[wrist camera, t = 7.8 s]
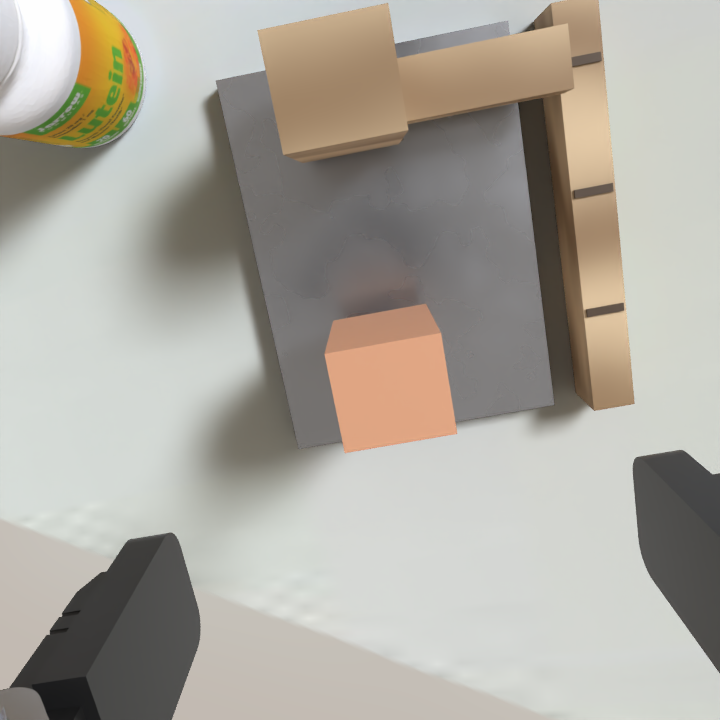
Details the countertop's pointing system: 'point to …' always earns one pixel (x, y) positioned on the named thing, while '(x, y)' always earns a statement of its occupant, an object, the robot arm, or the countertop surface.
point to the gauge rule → (467, 94)
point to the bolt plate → (397, 246)
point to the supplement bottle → (67, 73)
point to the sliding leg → (389, 378)
